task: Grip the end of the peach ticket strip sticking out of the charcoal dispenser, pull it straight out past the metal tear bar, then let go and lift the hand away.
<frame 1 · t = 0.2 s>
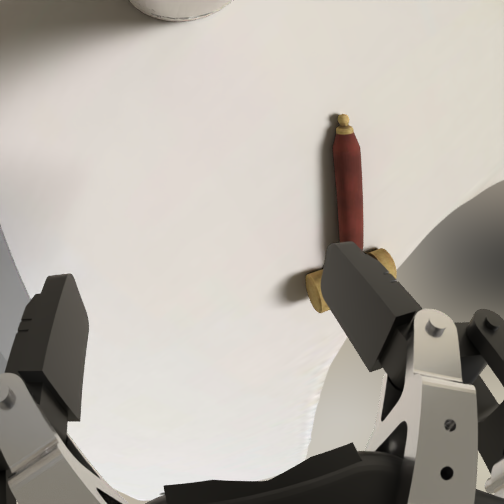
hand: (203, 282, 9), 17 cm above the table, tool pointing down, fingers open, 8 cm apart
gavel: (341, 208, 32), on the table
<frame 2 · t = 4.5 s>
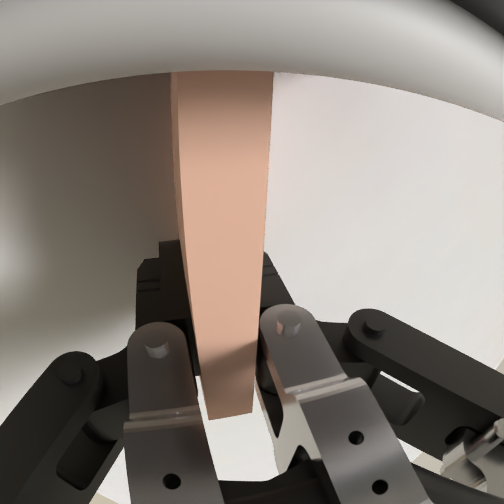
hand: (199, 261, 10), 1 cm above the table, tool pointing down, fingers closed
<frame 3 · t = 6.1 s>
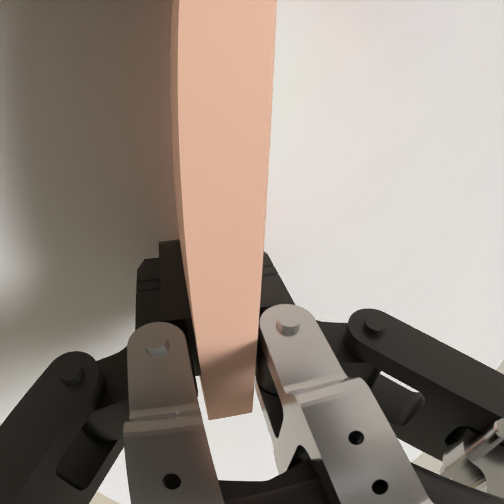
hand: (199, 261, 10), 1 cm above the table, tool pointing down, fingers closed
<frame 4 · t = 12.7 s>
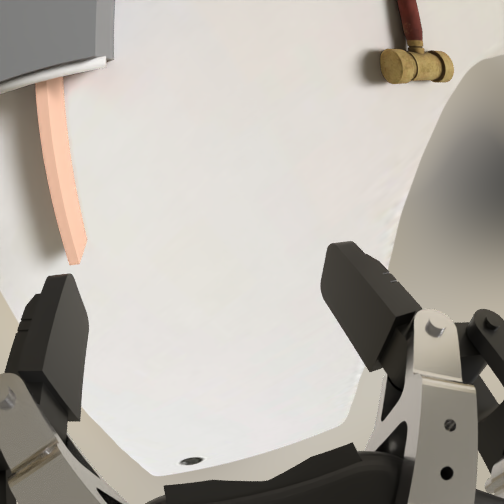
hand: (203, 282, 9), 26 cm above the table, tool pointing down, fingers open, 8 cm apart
ticket strip: (57, 153, 25), point 3 cm above the table, slide at 11.0 cm
gavel: (398, 8, 28), on the table
dispenser: (60, 2, 19), on the table
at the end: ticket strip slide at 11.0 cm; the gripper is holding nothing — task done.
